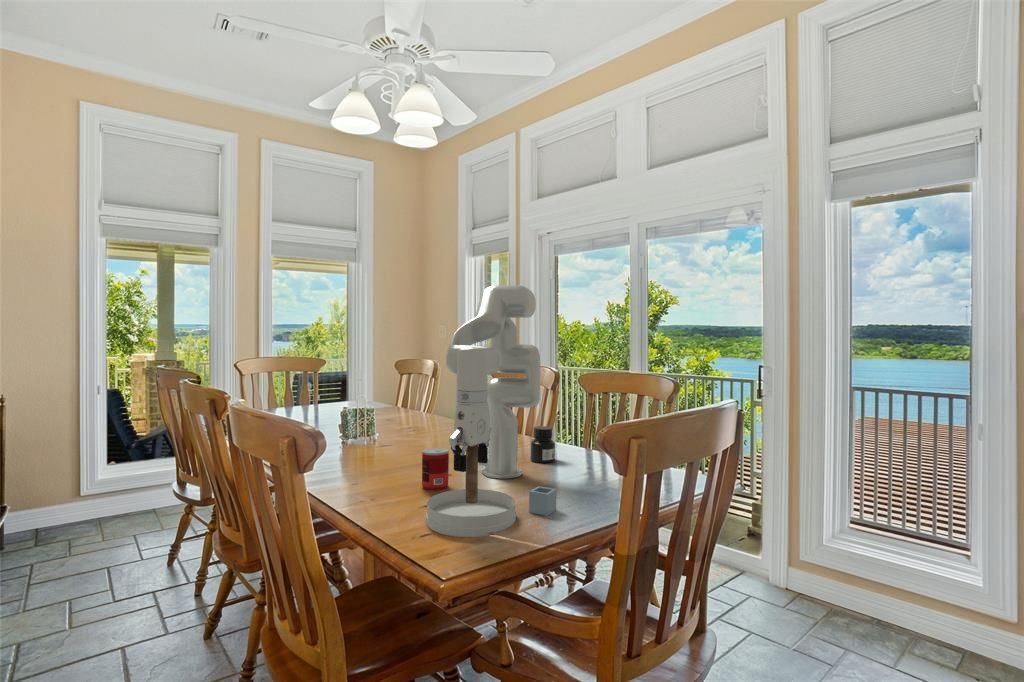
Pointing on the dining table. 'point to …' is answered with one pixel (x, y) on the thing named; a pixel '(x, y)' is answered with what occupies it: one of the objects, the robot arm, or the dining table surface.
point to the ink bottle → (543, 445)
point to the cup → (542, 501)
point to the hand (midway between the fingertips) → (471, 466)
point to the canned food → (435, 468)
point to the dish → (470, 513)
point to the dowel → (472, 474)
